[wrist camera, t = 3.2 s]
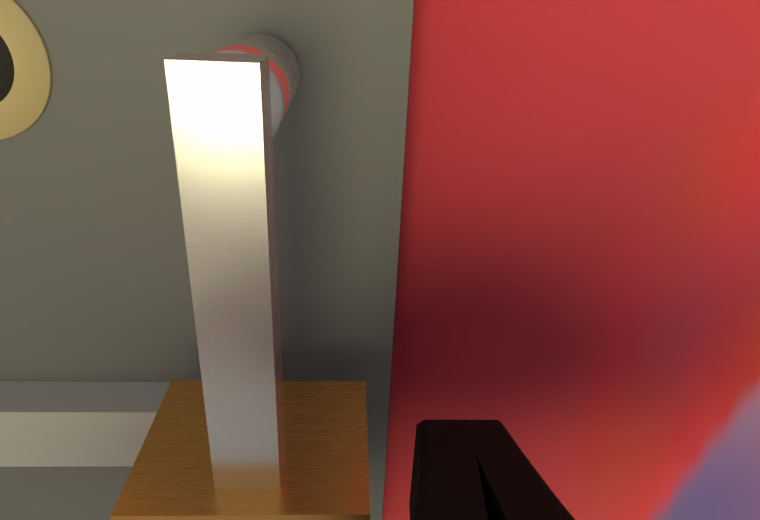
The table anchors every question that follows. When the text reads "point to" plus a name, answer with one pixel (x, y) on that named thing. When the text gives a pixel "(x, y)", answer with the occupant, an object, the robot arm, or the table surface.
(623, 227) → the table surface
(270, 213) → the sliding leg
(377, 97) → the plate
